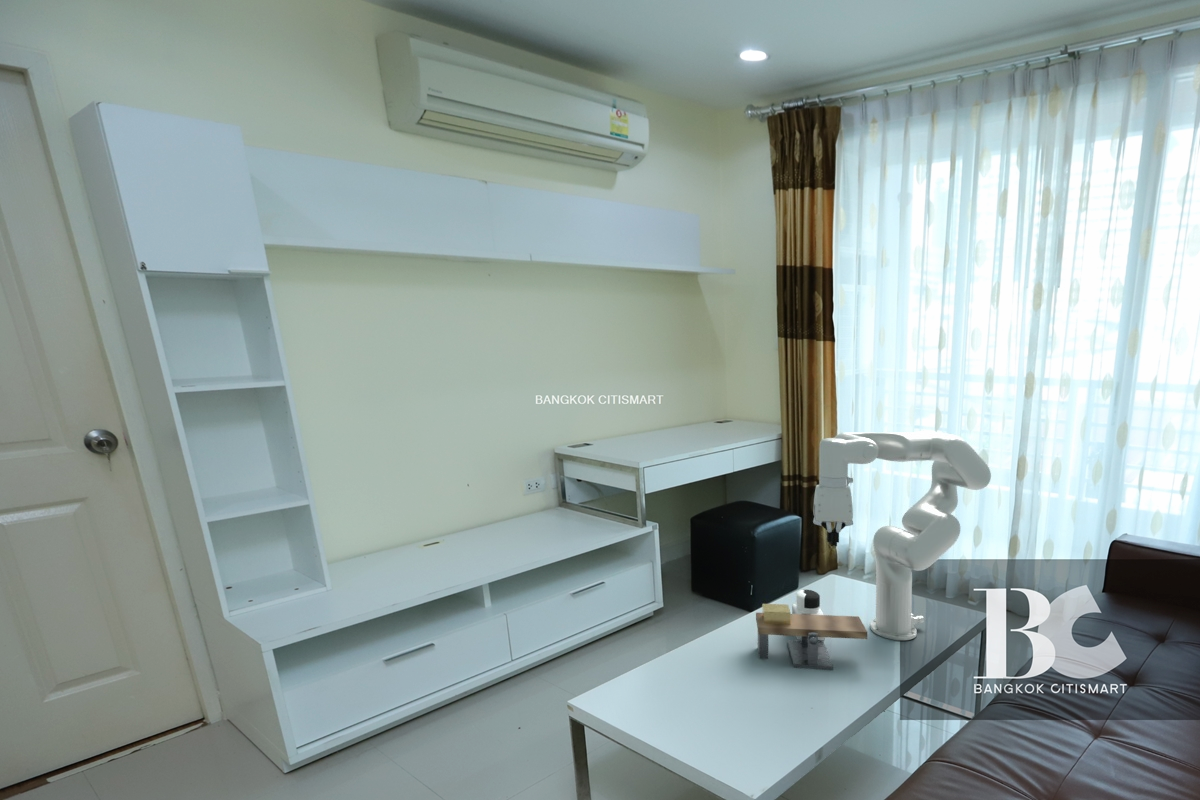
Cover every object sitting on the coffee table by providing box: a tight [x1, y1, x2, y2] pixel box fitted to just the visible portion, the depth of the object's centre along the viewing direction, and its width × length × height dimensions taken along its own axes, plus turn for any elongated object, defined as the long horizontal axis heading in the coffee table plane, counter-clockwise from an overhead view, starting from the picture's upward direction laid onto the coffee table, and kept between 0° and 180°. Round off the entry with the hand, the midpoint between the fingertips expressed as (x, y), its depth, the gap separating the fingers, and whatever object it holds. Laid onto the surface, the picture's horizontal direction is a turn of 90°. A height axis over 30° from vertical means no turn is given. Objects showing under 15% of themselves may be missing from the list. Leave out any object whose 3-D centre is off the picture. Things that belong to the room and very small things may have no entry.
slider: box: [761, 603, 792, 625], centre depth 166 cm, size 7×5×4 cm
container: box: [791, 589, 826, 641], centre depth 177 cm, size 8×8×13 cm
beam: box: [755, 612, 868, 640], centre depth 165 cm, size 28×9×2 cm, turn 80°
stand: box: [757, 613, 834, 671], centre depth 166 cm, size 19×14×10 cm
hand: (832, 544), depth 170 cm, fingers closed
